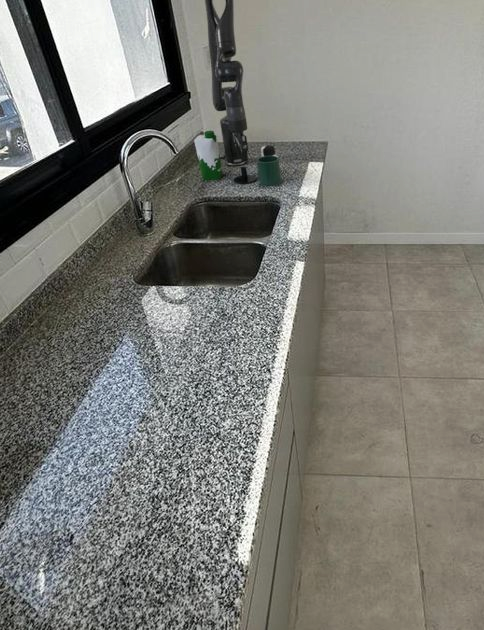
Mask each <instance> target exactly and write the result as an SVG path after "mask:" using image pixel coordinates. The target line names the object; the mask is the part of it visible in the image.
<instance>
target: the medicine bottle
mask: <svg viewBox="0 0 484 630" xmlns="http://www.w3.org/2000/svg"><path fill="white" fill-rule="evenodd" d="M260 153H261V157H263V156H276V157H278V158H279V156H278V155H276V149H275V146H273V145H263V146H262V147H261V148H260Z"/></svg>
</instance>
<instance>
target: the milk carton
mask: <svg viewBox="0 0 484 630" xmlns="http://www.w3.org/2000/svg"><path fill="white" fill-rule="evenodd" d="M193 142H194V145H195V152H196V155H197V159H198V165H199V169H200V173H201V177H202V181H220V180H221V178H222V177H223V175H224V174H223V166H222V161H221V159H220V157H221V155H220V151H219V144H218V135H217V134H215V131H214V130H206V131H204V134H199V135H198V136H196V138H194V139H193Z"/></svg>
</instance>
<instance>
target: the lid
mask: <svg viewBox="0 0 484 630" xmlns="http://www.w3.org/2000/svg"><path fill="white" fill-rule="evenodd" d="M257 180H258V179H257V176H256V175H252V174H248V170H247V166H240V175H238V176H236V177H234V178H233V183H235V184H237V185H248V184H253V183H255V182H256V181H257Z"/></svg>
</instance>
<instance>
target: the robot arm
mask: <svg viewBox="0 0 484 630" xmlns="http://www.w3.org/2000/svg"><path fill="white" fill-rule="evenodd" d="M224 4H225V6H224V9H223V12H222V14H221V16H219V14H218V12H217V11H216V7H215V5H214V0H204V8H205V14H206V24H207V25H206V26H207V43H208V53H209V62H210V72H211V73H210V74H211V101H212V105H213V108H214V110H215V111H216V112H225V114H226V115H224V117H221V119H220V120H219V127H220V131H221V137H222V143H223V149H224V152H223V153H224V154H223V156H220V160H224V159H225V161H226V165H227V166H229V167H238V166H242V165H244V164H246V163H247V162H248V161H249V156H248V152H249V145H248V139H247V138H248V137H247V135H245V134H244V132H245V131H247V130H248V122H247V116H246V110H245V106H244V99H243V80H244V66H243V64H242V63H241V61H239V60H232V58H233V57H235V56H236V54H237V46H236V45H237V44H236V36H235V6H234V5H235V3H234V0H225V3H224ZM223 83H235V85H234V86H225V87H223Z"/></svg>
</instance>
